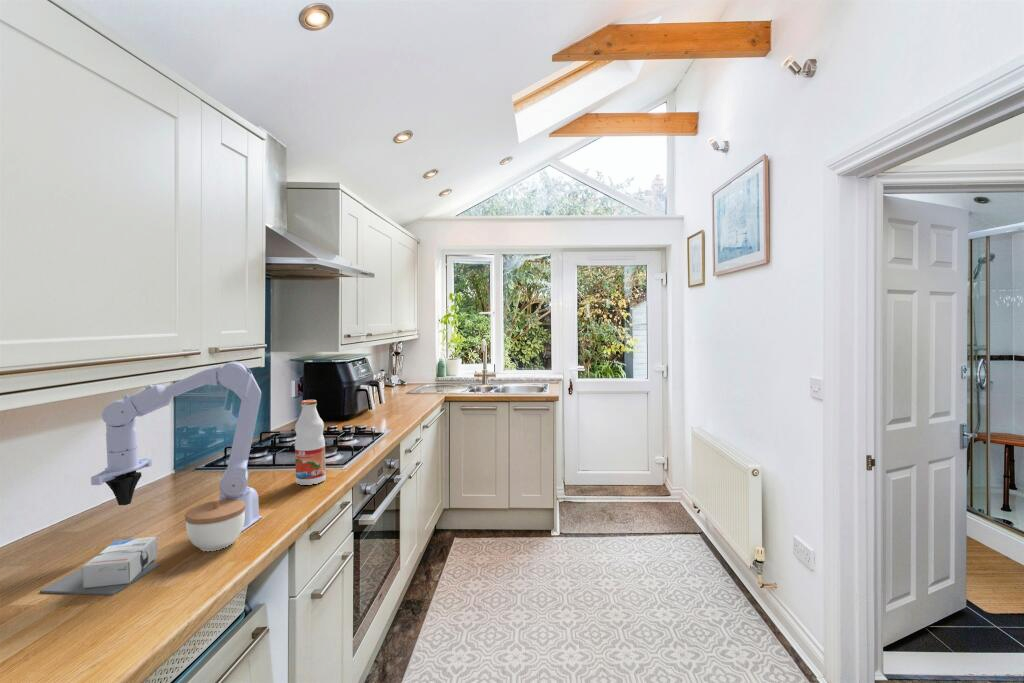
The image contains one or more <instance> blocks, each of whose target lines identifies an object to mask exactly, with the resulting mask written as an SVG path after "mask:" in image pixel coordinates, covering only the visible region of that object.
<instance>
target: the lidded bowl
mask: <svg viewBox="0 0 1024 683" xmlns="http://www.w3.org/2000/svg"><path fill="white" fill-rule="evenodd" d="M184 519H185V528H186V533H187V534H186V535H187V537H188V539H189V541H190V542H191V544H192V545H193V546H195V547H196V548H198V549H199V550H200V551H201V550H202V552H205V551H207V553H208V552H209V551H211V552H216V550H217V551H220V549H221V550H223V549H222V548H224V549H226V548H229V547H230V546H232V545H233V544H234V543H233V542H235V540H236V539H237V538H239V536H240V535H241V533H242V532H243V531H242V529H243V526H244V522H245V502H244V501H242V500H238V499H223V500H219V499H214V500H211V501H208V502H204V503H201V504H198V505H196V506H195V505H194V506H193V507H191V508H190V509H188V510H187V511H186V512H185V513H184ZM241 531H242V532H241ZM231 544H232V545H231ZM229 545H230V546H229ZM228 546H229V547H228ZM225 547H226V548H225Z"/></svg>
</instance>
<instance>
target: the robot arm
mask: <svg viewBox="0 0 1024 683" xmlns="http://www.w3.org/2000/svg"><path fill="white" fill-rule="evenodd" d="M219 384H221V385H222V387H225V388H227V389H228V390H231V391H233V393H234V394H235V395H237V397H238V398H239V399H240V400H241V402H240V407H239V412H238V416H237V420H236V426H235V430H234V436H233V441H232V445H231V450H230V454H229V460H228V463H227V464H228V465H227V467H226V468H225V469H224V470H223V473H222V476H221V477H222V478H221V480H220V481H219V485H218V486H219V491H220V492H219V496H218V497H219V498H218V500H223V499H238V500H242V501H244V502H245V522H244V526H243V529H242V531H241V533H243V531H245V530H246V529H248V528H249V527H251V526H252V525H254V524H255V523H256V522H258V521H259V520H260V518H261V517H262V518H263V516H262V515H260V514H259V513H260V512H259V511H260V510H259V495H258V492H257V491H256V489H255V488H253V487H251V486H250V487H249V486H248V479H249V476H250V475H249V474H250V473H249V470H248V461H249V458H250V452H251V447H252V443H253V438H254V433H255V428H256V424H257V420H258V419H257V418H258V413H259V409H260V405H261V404H260V403H261V400H262V399H261V398H262V391H261V389H260V387H259V385H258V382H257V380H256V379H255V377H254V375H253V372H252V370H251V369H250V368H248V367H247V366H246V364H244V363H243V362H241V361H238V360H237V361H236V360H233V361H229V362H227V363H226V364H224V365H223V364H219V365H216V366H212V367H209V368H208V367H207V368H205V369H203V370H201V371H198V372H197V373H194V374H192V375H189V376H187V377H184V378H183V379H181V380H178V381H176V382H174V383H171V384H169V385H167V386H166V385H160V384H155V385H153V384H149V385H150V386H148V385H147V386H144V389H143V390H140V391H138V392H136V393H133V394H131V395H130V394H126V395H123V397H122V398H123V399H118V400H115V401H113V402H111V403H109V404H108V405H107V406H106V407H105V408H104V409H103V410H102V413H101V418H102V420H103V422H104V423H105V428H106V433H105V439H106V442H105V443H106V460H107V461H106V463H107V467H104V470H103V471H101V472H99V473H98V474H95V475H93V476H91V477H90V481H91V482H90V485H91V486H101V485H103V484H104V483H105V484H106V485H107V486H108V487H109V488H110V490H111V491H112V493H113V495H114V496H115V499H116V502H117V504H118V506H127V505H130V504H131V503H132V500H133V496H134V492H135V489H136V487H137V485H138V482H139V481H140V479H141V478H142V472H141V471H139V470H141V469H145V468H149V467H152V465H153V464H152V463H153V462H152V461H153V460H152V458H142V459H139V456H138V455H139V454H138V435H137V434H138V433H137V427H136V426H137V425H136V418H137V417H144V416H146V415H148V414H150V413H152V412H155V411H158V410H159V409H161V408H164V407H166V406H169V405H170V403H171V401H172V399H173V398H174V397H177V396H179V395H181V394H184V393H187V392H189V391H192V390H194V389H197V388H199V387H202V386H205V385H206V386H207V385H209V386H219ZM138 471H139V472H138ZM262 518H261V519H262ZM253 523H254V524H253Z"/></svg>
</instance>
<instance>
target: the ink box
mask: <svg viewBox="0 0 1024 683" xmlns="http://www.w3.org/2000/svg"><path fill="white" fill-rule="evenodd" d="M157 557H158V537H157V536H150V537H140V538H130V539H121V540H115V541H113V542H112V543H111V544H109V545H108V546H107V547H106V548H104V549H103V550H101V551H100V552H99V553H98V554H97V555H95V556H94V557H93V558H91V559H90V560H89V561H87V563H86V562H85V564H84V565H83V566H81V568H82V580H83V588H91V587H100V586H110V585H119V584H127V583H130V582H131V581H132V580H133V579H134V578H135V577H136V576H137V575H138V574H139V573H140V572H141V571H142V570H143V569H144V568H145V567H146V566H147V565H148V564H149V563H152V562H153V561H154V560H155V559H156V558H157Z"/></svg>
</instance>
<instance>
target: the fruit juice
mask: <svg viewBox="0 0 1024 683" xmlns="http://www.w3.org/2000/svg"><path fill="white" fill-rule="evenodd" d="M317 404H318V402H317V400H316V399H306V400H305V399H304V400H301V401H300V405H301V407H302V408H301V412H300V414H299V418H298V420H297V421H296V423H295V425H294V430H295V431H294V432H295V434H296V438H295V441H294V452H295V453H294V454H295V456H294V457H295V458H294V459H295V461H294V462H295V482H296V485H298V484H300V485H310V484H315V483H319V482H322V481H324V480H325V481H326V479H327V478H326V477H327V473H326V470H327V469H326V468H327V467H326V440H325V437H324V429H325V423H324V421H323V419H322V418H321V417H320V414H319V412H318V410H317ZM325 481H324V482H325ZM322 483H323V482H322ZM300 485H299V486H300Z"/></svg>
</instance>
